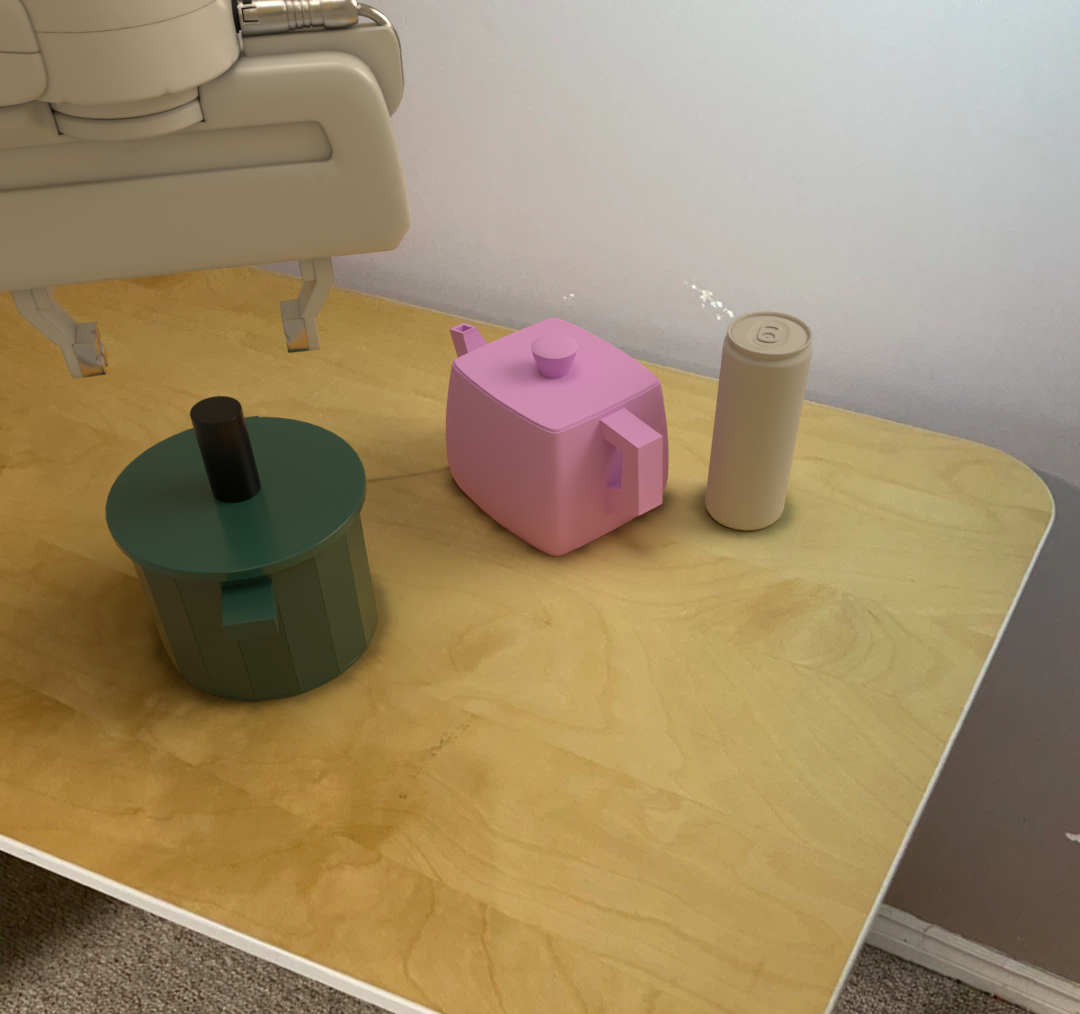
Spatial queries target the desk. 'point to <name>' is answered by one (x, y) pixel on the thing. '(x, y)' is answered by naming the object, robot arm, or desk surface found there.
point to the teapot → (555, 433)
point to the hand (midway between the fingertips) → (198, 358)
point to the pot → (269, 623)
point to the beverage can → (757, 418)
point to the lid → (235, 496)
